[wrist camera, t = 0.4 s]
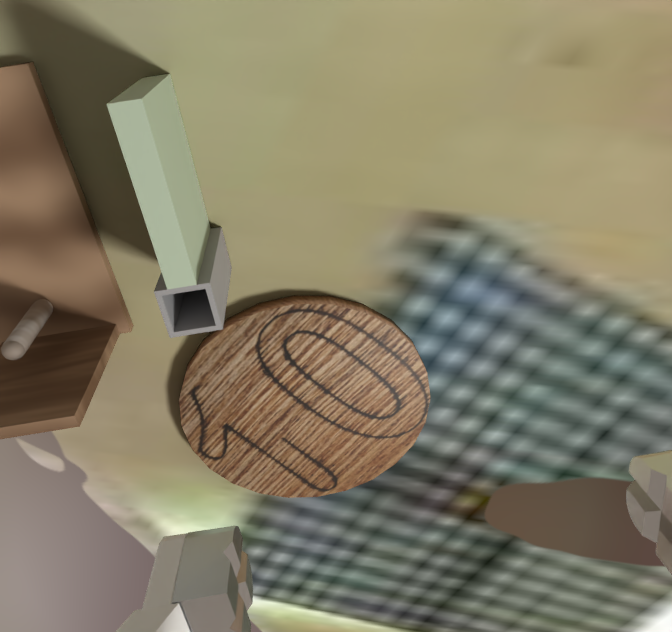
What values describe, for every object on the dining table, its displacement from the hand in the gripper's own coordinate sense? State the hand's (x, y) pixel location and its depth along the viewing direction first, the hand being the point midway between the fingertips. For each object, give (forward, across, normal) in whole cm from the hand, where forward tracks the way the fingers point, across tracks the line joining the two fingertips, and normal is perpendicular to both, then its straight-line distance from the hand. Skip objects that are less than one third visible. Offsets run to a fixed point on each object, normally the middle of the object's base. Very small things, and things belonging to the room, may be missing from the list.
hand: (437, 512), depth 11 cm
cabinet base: (+36, +25, 0) cm, 44 cm away
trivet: (+40, +5, +23) cm, 46 cm away
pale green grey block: (+36, +11, -1) cm, 38 cm away
